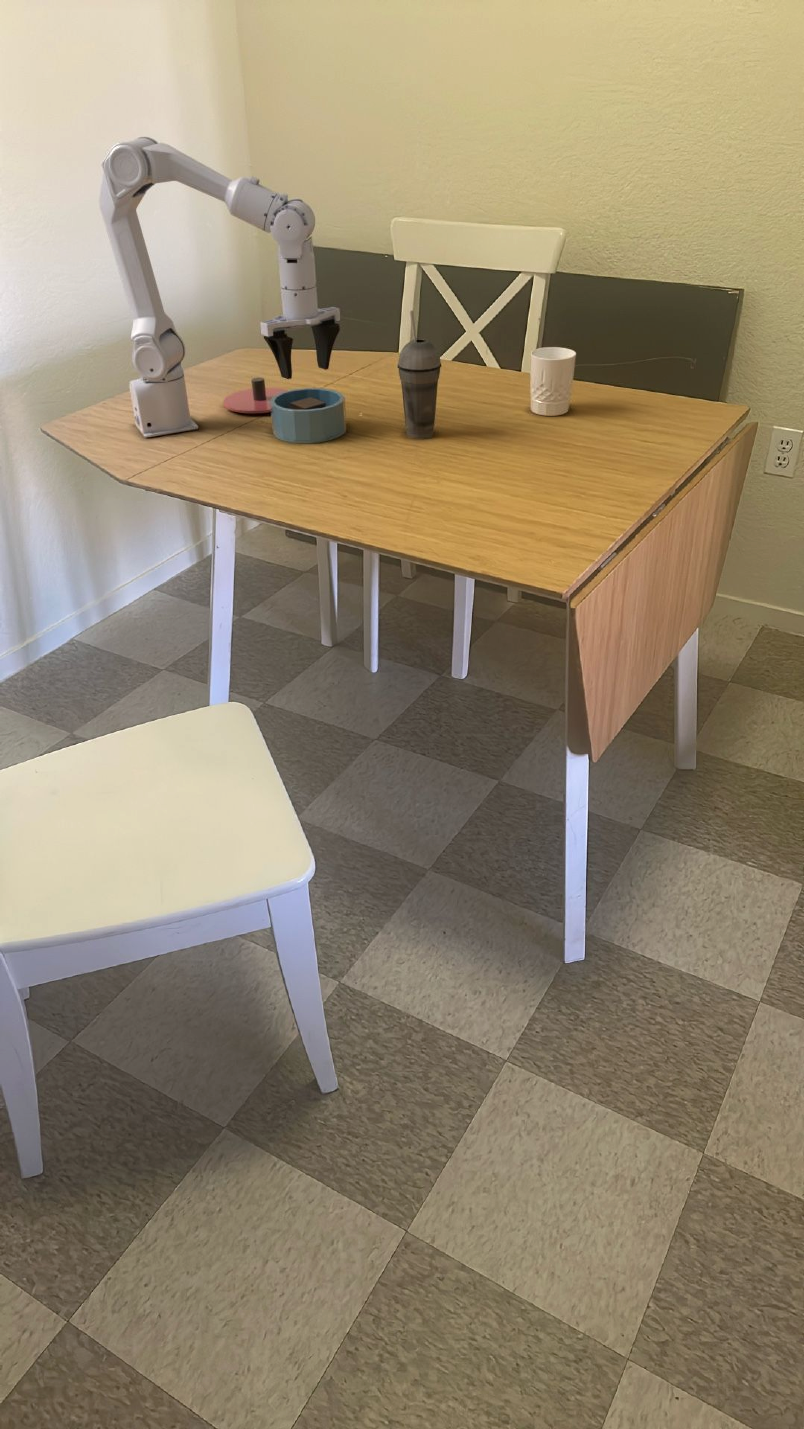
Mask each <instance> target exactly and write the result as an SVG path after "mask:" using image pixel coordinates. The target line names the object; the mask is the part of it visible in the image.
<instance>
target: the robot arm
mask: <svg viewBox="0 0 804 1429" xmlns="http://www.w3.org/2000/svg"><path fill="white" fill-rule="evenodd" d="M101 167H102V168H101V169H102V177H101V183H100V189H99V196H98V205H99V209H100V210H99V211H100V212H101V213H100V214H101V216H102V219H103V222H104V227H105V230H106V233H107V236H108V240H109V243H110V247H111V250H112V253H113V257H114V261H115V263H116V266H117V271H118V274H119V277H120V280H121V283H122V287H123V291H124V294H125V297H126V301H127V305H128V307H129V311H130V314H131V317H132V328H131V334H130V340H131V344H132V355H131V361H132V365H133V367H134V370H135V371H136V372H137V373H138V374H139V375H140V377H139V378H137V379H133V380H130V381H129V393H130V399H131V405H132V411H133V415H134V422H135V426H136V427H137V429H138V430H139V431H140V433H141V434H142V435H143V437H144V438H152V437H158V436H163V435H164V436H165V435H170V434H176V433H181V432H188V431H194V430H198V429H199V425H198V424H197V423H196V421H194V420H193V418H191V413H190V412H191V411H190V405H189V398H188V392H187V391H188V390H187V385H186V380H185V372H184V368H183V367H182V362H183V360H184V359H185V357H186V346H185V342H184V340H183V339H182V337H181V336H180V335H179V333H178V332H177V329H176V328H175V325H174V322H173V320H172V319H171V318H170V316H168V315H167V313H166V312H165V309H164V305H163V303H162V302H163V301H162V299H161V298H162V297H161V295H160V292H159V287H158V284H157V281H156V277H155V274H154V269H153V266H152V263H151V259H150V256H149V252H148V247H147V245H146V241H145V237H144V233H143V230H142V226H141V224H140V220H139V219H140V218H139V216H138V212H137V208H138V207H139V205H140V203H141V202H142V201H143V198H144V197H145V195H146V194H147V191H148V190H150V189H151V188H152V187H153V186H155V185H156V184H162V183H168V182H169V183H170V182H178V183H180V184H182V185H185V186H187V187H189V188H191V189H194V190H196V191H198V192H201V193H202V194H205V195H208V196H210V197H212V198H215V199H216V200H219V201H221V202H223V203H225V205H226V207H227V210H228V212H229V214H230V215H231V216H233V217H234V218H237V219H239V220H241V221H243V222H245V223H247V224H248V225H251V226H253V227H255V228H257V229H259V230H261V231H262V232H265V233H267V234H270V233H271V235H272V238H273V240H274V241H275V242H276V244H277V263H278V271H279V284H280V285H279V286H280V294H281V297H280V298H281V306H282V314H280V315H278V316H276V317H273V318H271V319H268V320H264V321H260V322H259V324H260V332H261V333H260V335H261V336H263V339H264V341H265V342H266V344H267V345H268V347H269V348H270V350H271V353H272V354H273V357H274V359H275V362H276V364H277V367H278V370H279V372H280V377H281V378H283V379H286V380H291V379H292V378H293V367H292V366H293V365H292V348H293V342H294V338H293V337H290V336H288V334H287V333H286V332H290V331H294V330H299V329H304V328H308V327H310V328H311V331H312V335H313V339H314V345H315V352H316V362H317V367H318V368H319V369H322V370H325V371H326V370H329V368H330V361H331V357H332V352H333V349H334V348H333V347H334V344H335V342H336V339H337V337H338V335H339V333H340V330H341V328H340V327H341V326H340V323H337V322H340V321H341V312H340V311H341V309H340V308H339V307H335V306H330V307H323V308H319V306H318V291H317V290H318V289H317V276H316V262H315V254H314V242H313V237H312V236H311V235H312V234H313V232H314V230H315V226H316V217H315V213H314V211H313V210H312V208H311V207H310V205H308V204H307V203H306V202H305V201H303V200H302V199H301V198H291V199H288V198H289V195H288V194H287V193H286V192H284V191H282V192H280V193H278V192H276V191H274V190H272V189H270V188H268V187H266V186H264V185H263V184H260V179H259V178H258V177H256V176H254V175H252V176H249V178H248V177H246V176H240V177H239V178H237V179H234V180H232V179H231V178H230V177H227V176H225V175H223V174H221V173H220V172H218V171H216V170H214V169H213V168H212V167H209V166H207V165H206V164H204V163H202V162H200V161H199V160H197V159H195V158H193V157H191V156H189V155H187V154H186V153H184V152H182V151H181V150H178V149H176V148H175V147H173V146H171V145H170V144H167V143H164V142H158V141H157V140H156V139H154V138H152V137H149V136H139V137H137V138H135V139H131V140H128V141H121V142H117V143H115V144H114V145H112V147H111V148H110V149H109V150H108V152H107V154H106V155H105V156H104V158H103V160H102V161H101Z"/></svg>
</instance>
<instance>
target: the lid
mask: <svg viewBox="0 0 804 1429" xmlns="http://www.w3.org/2000/svg"><path fill="white" fill-rule="evenodd" d="M250 381H251V387H252V388H248V389H243V390H239V391H236V392H233V393H230V394H228V395H227V396H226V397H224V398H223V401H222V403H223V404H222V405H223V406H224V408H225V409H227V410H229V411H232V412H236V413H239V414H240V413H241V414H266V413H271V409H270V400H271V399H272V397H273V396H275V395H277V394H279V393H281V392H285V391H289V390H287V389H284V388H279V387H278V388H276V387H266V381H265V378H264V377H261V376H260V377H258V376H257V377H253V378H251V380H250Z"/></svg>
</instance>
